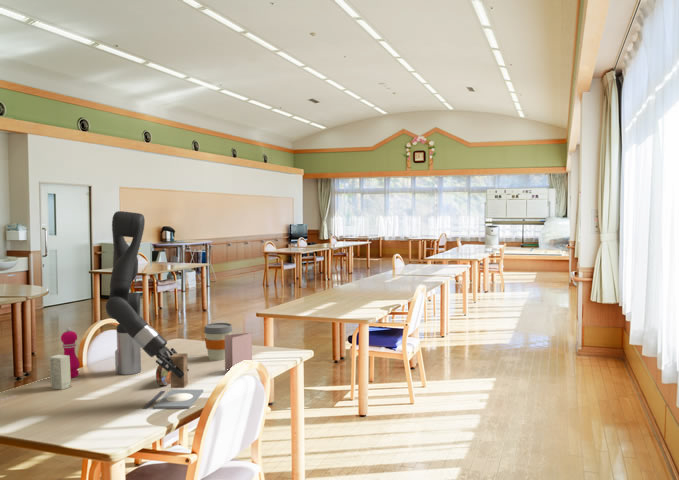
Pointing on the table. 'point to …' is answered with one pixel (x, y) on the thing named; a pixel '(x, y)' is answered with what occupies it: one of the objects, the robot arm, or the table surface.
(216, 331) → the reusable coffee cup
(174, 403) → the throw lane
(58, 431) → the table surface
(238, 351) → the greeting card
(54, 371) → the skincare box
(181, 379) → the square wooden post
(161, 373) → the tin
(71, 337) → the pepper mill
